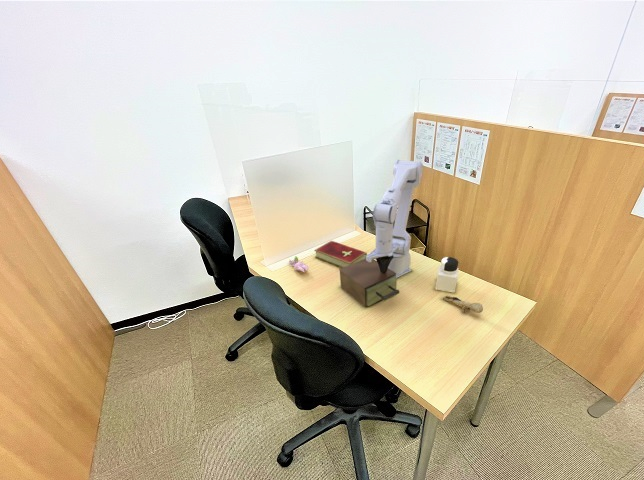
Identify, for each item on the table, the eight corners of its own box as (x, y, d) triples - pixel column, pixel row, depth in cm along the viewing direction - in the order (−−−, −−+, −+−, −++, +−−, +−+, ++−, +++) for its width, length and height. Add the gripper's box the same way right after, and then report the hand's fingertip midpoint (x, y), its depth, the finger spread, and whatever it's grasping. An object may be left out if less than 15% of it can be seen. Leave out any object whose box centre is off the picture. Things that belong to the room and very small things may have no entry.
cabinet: (395, 291, 110) (396, 273, 106) (365, 307, 104) (364, 287, 99) (369, 274, 121) (369, 256, 116) (340, 287, 114) (339, 269, 109)
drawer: (405, 298, 106) (406, 283, 102) (377, 313, 99) (377, 297, 95) (372, 275, 119) (372, 261, 115) (345, 287, 112) (344, 273, 108)
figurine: (441, 305, 106) (479, 318, 95) (441, 294, 104) (479, 307, 93) (448, 301, 108) (485, 314, 97) (447, 290, 106) (485, 302, 95)
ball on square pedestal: (455, 282, 114) (460, 256, 107) (454, 293, 109) (459, 266, 102) (437, 279, 116) (441, 253, 109) (435, 289, 111) (439, 263, 104)
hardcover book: (332, 247, 142) (331, 239, 139) (367, 259, 131) (366, 251, 129) (315, 257, 134) (314, 249, 132) (350, 271, 123) (350, 263, 121)
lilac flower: (287, 267, 130) (299, 277, 118) (283, 255, 127) (296, 264, 116) (299, 262, 133) (313, 272, 121) (296, 250, 130) (310, 259, 119)
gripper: (375, 249, 92) (375, 283, 100) (407, 236, 99) (405, 269, 107) (361, 241, 97) (362, 275, 105) (393, 229, 104) (392, 262, 112)
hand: (383, 271), depth 106 cm, fingers closed
